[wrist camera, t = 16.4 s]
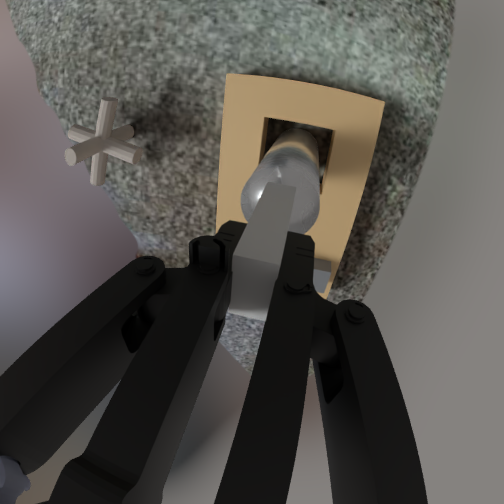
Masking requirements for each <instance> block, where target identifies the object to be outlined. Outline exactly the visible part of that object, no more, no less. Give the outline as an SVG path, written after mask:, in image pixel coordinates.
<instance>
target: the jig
mask: <svg viewBox="0 0 504 504" xmlns="http://www.w3.org/2000/svg"><path fill="white" fill-rule="evenodd" d="M384 104H385V102H383V101H380V100H377V99H374V98H370V97H367V96H363V95H360V94H356V93H352V92H348V91H344V90H340V89H336V88H331V87H327V86H322V85H317V84H312V83H306V82H300V81H294V80H288V79H281V78H273V77H265V76H255V75H243V74H227V76H226V87H225V98H224V109H223V121H222V134H221V148H220V163H219V180H218V198H217V220H216V233H217V232H218V230H219V228H220V227H221V225H222V224H224V223H226V222H227V221H229V220H232V221H238V222H243V223H248V222H247V221H246V219H245V217H244V215H243V213H242V209H241V203H240V202H241V193H242V190H243V187H244V185H245V184H246V182H247V181H248V179H249V178H250V177H251V175H252V174H253V172H254V171H255V169H256V168H257V166H258V165H259V164H260V162H261V161H262V159H263V158H264V152H265V145H266V137H267V129H268V121H269V118H275V119H281V120H287V121H293V122H298V123H304V124H309V125H314V126H318V127H323V128H328V129H332V130H333V132H332V137H331V142H330V147H329V152H328V157H327V161H326V166H325V171H324V175H323V180H322V184H320V210H319V215H318V218H317V220H316V222H315V224H314V225H313V226H312V227H311V229H310V230H308V231H307V232H306V233H304V234H305V235H310V236H311V237H312V239H313V241H314V242H315V256H314V273H313V285H314V286H315V290H316V291H317V293H318V294H319V295H320V296H321V297H323V298H324V299H326V298H327V296H328V293H329V291H330V288H331V285H332V283H333V280H334V278H335V275H336V272H337V269H338V267H339V264H340V261H341V258H342V256H343V253H344V250H345V247H346V244H347V241H348V238H349V235H350V232H351V229H352V226H353V223H354V220H355V217H356V213H357V210H358V207H359V204H360V200H361V197H362V194H363V190H364V187H365V183H366V180H367V176H368V172H369V168H370V165H371V161H372V157H373V153H374V149H375V145H376V141H377V136H378V132H379V128H380V123H381V119H382V114H383V109H384Z"/></svg>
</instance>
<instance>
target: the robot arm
mask: <svg viewBox="0 0 504 504" xmlns="http://www.w3.org/2000/svg"><path fill="white" fill-rule="evenodd" d="M295 192H296V187H293V186H288V185H283V184H278V183H273V182H267V184H266V186H265V188H264V190H263V192H262V194H261V196H260V199H259V201H258V203H257V205H256V207H255V209H254V211H253V213H252V215H251V217H250V219H249V221H248V223H243V222H238V221H232V220H229V221H227V222H226V223H224V224H222V225H221V227H220V228H219V230H218V232H217V233H216V235H215V236H208V235H207V236H200V237H197V238H195V239H193V240H192V241H190V242H189V261H190V264H189V265H188V267H185V268H165V265H164V263H163V261H162V260H161V259H159V258H157V257H154V256H143V257H139V258H137V259H135V260H133V261H131V262H130V263H129V264H128V265H126V266H125V267H124V268H122V269H121V270H120V271H118V272H117V273H116V274H115V275H113V276H112V277H111V278H110V279H108V280H107V281H106V282H105V283H103V284H102V285H101V286H100V287H98V288H97V289H96V290H95V291H94V292H92V293H91V294H90V295H89V296H87V297H86V298H85V299H84V300H83V301H81V302H80V303H79V304H78V305H77V306H76V307H74V308H73V309H72V310H71V311H70V312H69V313H67V314H66V315H65V316H64V317H63V318H62V319H61V320H60V321H58V322H57V323H56V324H55V325H54V326H53V327H52V328H50V330H48V331H47V332H46V333H45V334H44V335H43V336H42V337H41V338H40V339H38V340H37V341H36V342H35V343H34V344H33V345H32V346H31V347H30V348H29V349H28V350H27V351H26V352H24V353H23V354H22V355H21V356H20V357H19V358H18V359H17V360H16V361H15V362H14V363H13V364H12V365H11V366H10V367H9V368H8V369H7V370H6V371H5V372H4V374H2V375H1V376H0V504H15V501H16V499H17V497H18V496H19V495H21V493H23V491H24V490H25V491H27V490H29V489H30V480H29V479H28V477H27V476H26V475H27V474H29V473H31V472H34V471H35V470H37V469H38V468H39V467H41V466H42V465H43V464H44V463H45V462H47V460H49V458H50V457H52V455H53V454H54V453H55V452H56V451H57V450H58V449H59V448H60V446H61V445H62V444H63V443H64V442H65V441H66V440H67V438H68V437H69V436H70V435H71V434H72V433H73V432H74V431H75V429H76V428H77V427H78V426H79V425H80V424H81V423H82V422H83V421H84V420H85V418H86V417H87V416H88V415H89V414H90V413H91V412H92V411H93V410H94V408H95V407H96V406H97V405H98V404H99V403H100V402H101V401H102V400H103V398H104V397H105V396H106V395H107V394H108V393H109V392H110V391H111V390H112V389H113V387H114V386H115V385H116V384H117V383H118V382H119V381H120V380H121V381H120V383H119V385H118V387H117V389H116V391H115V392H114V394H113V396H112V398H111V400H110V402H109V404H108V406H107V408H106V410H105V412H104V414H103V416H102V418H101V419H100V421H99V423H98V425H97V427H96V429H95V431H94V434H93V436H92V438H91V440H90V442H89V444H88V446H87V448H86V450H85V451H84V453H83V454H82V455H81V456H79V457H77V458H75V459H72V460H70V461H69V462H68V463H67V464H66V465H65V467H64V468H63V470H62V471H61V474H60V476H59V478H58V480H57V482H56V485H55V487H54V489H53V492H52V494H51V496H50V499H49V501H45V502H41V503H38V504H161V502H162V493H163V488H164V485H165V482H166V480H167V477H168V474H169V472H170V469H171V466H172V464H173V461H174V458H175V455H176V453H177V450H178V448H179V445H180V442H181V440H182V437H183V434H184V432H185V429H186V426H187V423H188V421H189V418H190V416H191V413H192V410H193V408H194V405H195V402H196V400H197V397H198V394H199V392H200V389H201V386H202V383H203V381H204V378H205V376H206V373H207V370H208V367H209V364H210V362H211V360H212V357H213V354H214V351H215V349H216V346H217V343H218V341H219V338H220V335H221V333H222V330H223V327H224V325H225V317H226V312H227V309H228V307H229V313H232V314H236V315H241V316H245V317H249V318H253V319H258V320H262V321H265V325H264V329H263V333H262V337H261V341H260V345H259V349H258V353H257V357H256V360H255V364H254V368H253V372H252V376H251V379H250V383H249V387H248V390H247V394H246V398H245V401H244V405H243V408H242V412H241V416H240V419H239V423H238V426H237V430H236V434H235V437H234V440H233V443H232V447H231V450H230V454H229V457H228V460H227V464H226V467H225V470H224V473H223V477H222V480H221V483H220V486H219V489H218V492H217V496H216V499H215V502H214V504H286V500H287V495H288V491H289V486H290V482H291V477H292V472H293V467H294V462H295V457H296V451H297V446H298V440H299V434H300V428H301V422H302V415H303V408H304V401H305V394H306V386H307V377H308V370H309V361H310V358H312V359H313V367H314V372H315V377H316V384H317V390H318V396H319V402H320V408H321V415H322V421H323V428H324V435H325V441H326V449H327V457H328V464H329V473H330V481H331V489H332V498H333V504H428V501H427V495H426V490H425V484H424V478H423V473H422V468H421V464H420V459H419V455H418V451H417V446H416V442H415V438H414V434H413V430H412V427H411V423H410V419H409V416H408V412H407V409H406V406H405V402H404V399H403V395H402V392H401V389H400V386H399V383H398V380H397V377H396V374H395V372H394V368H393V365H392V362H391V359H390V356H389V354H388V351H387V348H386V345H385V343H384V340H383V337H382V335H381V332H380V330H379V327H378V324H377V322H376V319H375V317H374V315H373V313H372V311H371V310H370V308H368V307H367V306H366V305H365V304H363V303H361V302H359V301H357V300H351V299H349V300H343V301H341V302H340V303H338V305H336V304H334V303H332V302H330V301H328V300H326V299H324V298H323V297H321V296H320V295H319V294H318V293H317V291H316V290H315V286H314V285H313V273H314V256H315V242H314V241H313V239H312V237H311V236H310V235H305V234H300V233H296V232H291V231H288V228H289V223H290V218H291V213H292V208H293V203H294V198H295Z"/></svg>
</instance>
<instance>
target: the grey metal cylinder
mask: <svg viewBox="0 0 504 504" xmlns="http://www.w3.org/2000/svg"><path fill="white" fill-rule="evenodd" d="M267 182H273V183H278V184H283V185H288V186H293V187H296V192H295V198H294V203H293V208H292V213H291V218H290V223H289V228H288V231H291V232H296V233H300V234H304V233H306V232H307V231H308V230H310V229H311V227H312V226H313V225H314V224H315V222H316V220H317V218H318V215H319V210H320V183H319V152H318V144H317V141H316V139H315V138H314V137H313V135H312V134H311V133H309V132H308V131H306V130H303V129H299V128H292V129H288V130H286V131H284V132H283V133H282V134H281V135H280V136H279V137H278V138H277V140H276V141H275V143H274V144H273V145H272V147H271V148H270V149H269V151H268V152H267V154H266V155H265V157H264V158H263V159H262V161H261V162H260V164H259V165H258V166H257V168H256V169H255V171H254V172H253V174H252V175H251V177H250V178H249V179H248V181H247V182H246V184H245V185H244V187H243V190H242V193H241V202H240V203H241V209H242V213H243V215H244V217H245V219H246V221H247V222H248V221H249V219H250V217H251V215H252V213H253V211H254V209H255V207H256V205H257V203H258V201H259V199H260V196H261V194H262V192H263V190H264V188H265V186H266V184H267Z"/></svg>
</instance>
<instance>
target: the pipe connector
mask: <svg viewBox="0 0 504 504" xmlns="http://www.w3.org/2000/svg"><path fill="white" fill-rule="evenodd" d="M117 103H118V99H116V98H112V97H105V98H102V100H101V105H100V110H99V115H98V121H97V127H96V131H94V130H91V129H88V128H85V127H83V126H80V125H76V124H74V125H73V126H71V128H70V129H69V132H68V137H69V138H70V139H72V140H75V141H77V142H80V143H79V144H77V145H74V146H72V147H70V148H68V149H67V150H66V151H65V160H66V162H67V164H69V165H70V166H73V165H75V164H77V163H79V162H81V161H83V160H85V159H87V158H89V157H91V156H93V157H92V167H91V179H90V182H91V184H92V185H94V186H100V185H103V184H104V183H105V174H106V166H107V158H108V154H110V155H112V156H115V157H117V158H120V159H122V160H124V161H127V162H129V163H132V164H136V163H138V162H139V160H140V158H141V156H142V148H140V147H137V146H135V145H132V144H130V143H127V142H124V141H126V140H128V139H130V138H132V137H133V135H134V129H133V127H132V126H130V125H125V126H122V127H120V128H117V129H114V130H112V127H113V122H114V117H115V112H116V107H117Z"/></svg>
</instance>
